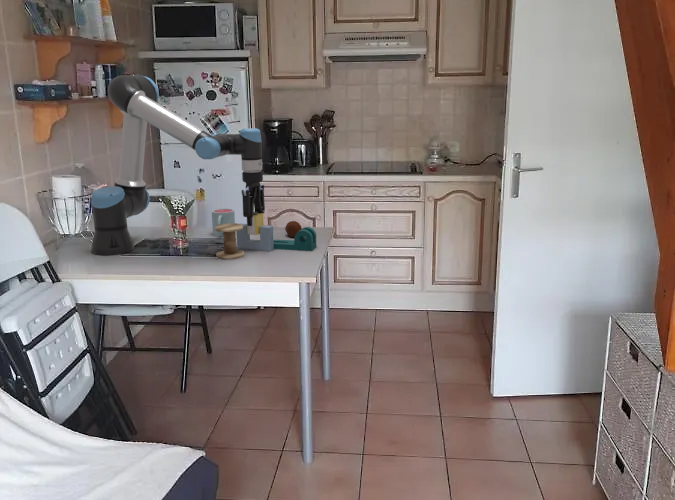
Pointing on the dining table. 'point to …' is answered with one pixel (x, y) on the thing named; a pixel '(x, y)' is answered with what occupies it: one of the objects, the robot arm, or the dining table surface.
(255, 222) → the yellow block
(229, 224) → the bobbin
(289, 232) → the potato
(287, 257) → the dining table surface
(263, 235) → the notch board
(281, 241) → the bracket
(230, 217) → the mug
